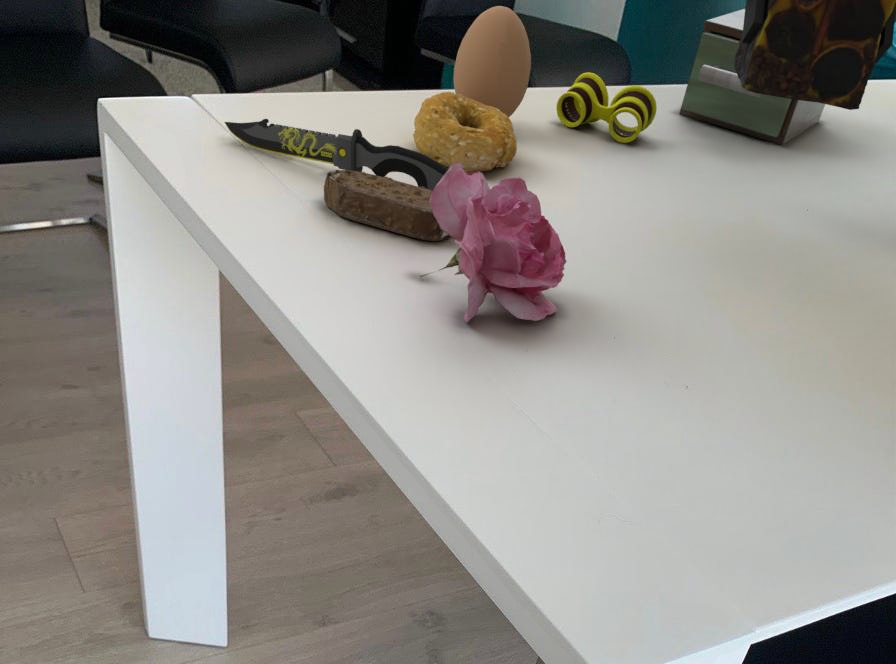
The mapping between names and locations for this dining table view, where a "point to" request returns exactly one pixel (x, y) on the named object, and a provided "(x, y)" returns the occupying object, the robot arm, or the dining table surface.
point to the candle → (814, 50)
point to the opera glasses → (606, 106)
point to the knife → (340, 151)
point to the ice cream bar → (383, 203)
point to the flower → (499, 242)
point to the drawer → (730, 90)
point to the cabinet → (799, 111)
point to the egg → (494, 60)
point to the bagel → (464, 133)
